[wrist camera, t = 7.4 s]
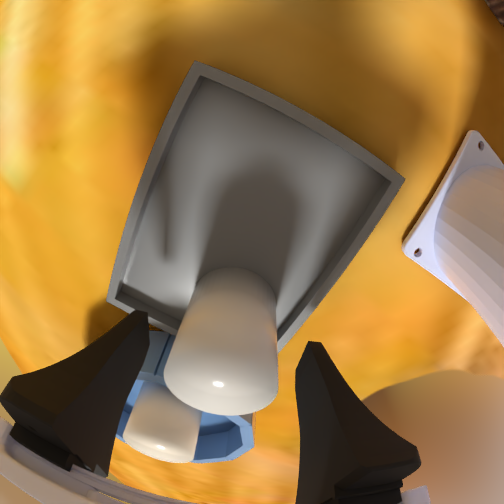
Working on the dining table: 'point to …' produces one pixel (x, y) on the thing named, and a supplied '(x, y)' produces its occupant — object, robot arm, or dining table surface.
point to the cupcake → (497, 9)
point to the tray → (246, 202)
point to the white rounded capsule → (162, 425)
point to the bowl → (212, 425)
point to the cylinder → (226, 345)
